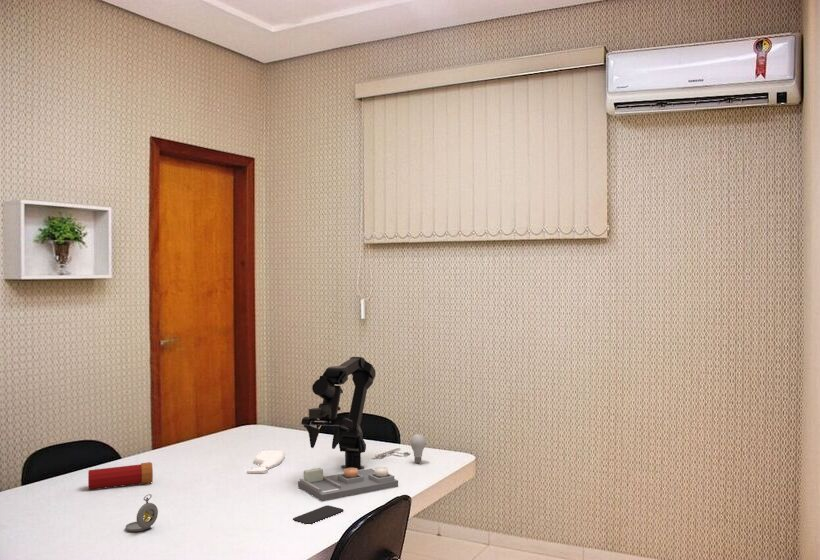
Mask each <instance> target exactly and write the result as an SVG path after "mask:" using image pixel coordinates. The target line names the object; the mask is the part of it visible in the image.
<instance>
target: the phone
mask: <svg viewBox="0 0 820 560" xmlns="http://www.w3.org/2000/svg"><path fill="white" fill-rule="evenodd" d="M341 512H342V513H344V508H340V507H336V506H333V505H323V506H321V507H318V508H316V509H313V510H311V511H308V512H306V513H303V514H300V515H298V516H295V517H293V518H292V521H293V520H294V521H293V522H296V521H298V522H297V523H299V522H301V523H300V524H303V523H304V524H303V525H306V524H311V525H313V523H314V524H316V523H315V522H317V523H319V522H321V521H320V520H322V521H323V519H324V520H326V519H325V518H327V519H328V517H329V518H331V516H332V517H334V516H337V515H339V513H340V514H342V513H341ZM336 514H337V515H336ZM333 515H334V516H333ZM318 521H319V522H318Z"/></svg>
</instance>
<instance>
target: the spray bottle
mask: <svg viewBox="0 0 820 560" xmlns="http://www.w3.org/2000/svg"><path fill="white" fill-rule="evenodd" d="M285 456H286V454H285V452H284V450H270V449H269V450H262V451H260V452H258V454H257V455H256V456H255V457H254V459H253V463H254V464H255V463H256V464H255V465H257V464H259V465H258V466H257V467H256V468H255V467H251V469H246V473H247V474H268V473H269V470H270V469H273V468H275V467H277V466H279V465H280V464H282V462H283V461H284V460H285ZM278 464H279V465H278ZM274 466H275V467H274ZM272 467H273V468H272Z"/></svg>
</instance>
